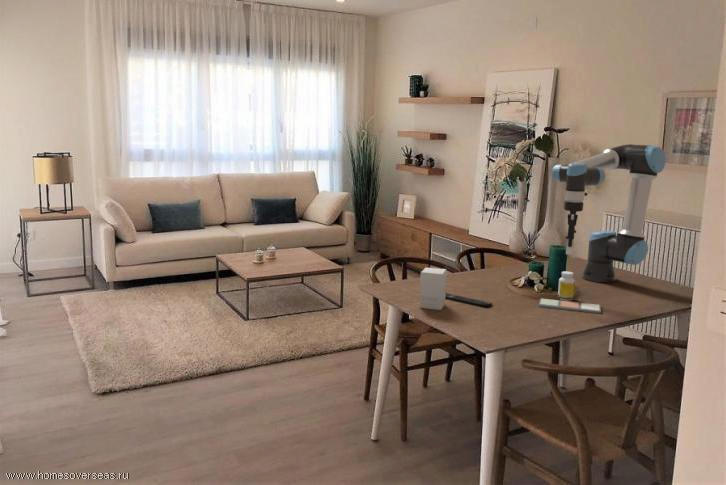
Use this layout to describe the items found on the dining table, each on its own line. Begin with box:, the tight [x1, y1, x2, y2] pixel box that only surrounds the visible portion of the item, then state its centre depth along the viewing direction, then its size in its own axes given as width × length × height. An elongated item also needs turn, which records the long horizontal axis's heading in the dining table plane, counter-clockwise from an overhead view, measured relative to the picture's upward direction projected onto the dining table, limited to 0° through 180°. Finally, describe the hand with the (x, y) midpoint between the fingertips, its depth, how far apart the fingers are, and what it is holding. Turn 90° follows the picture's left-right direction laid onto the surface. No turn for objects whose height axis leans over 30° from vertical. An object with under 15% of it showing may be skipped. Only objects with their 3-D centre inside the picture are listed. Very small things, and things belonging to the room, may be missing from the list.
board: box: [538, 297, 602, 315], centre depth 262 cm, size 10×24×1 cm, turn 71°
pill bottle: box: [557, 271, 576, 302], centre depth 272 cm, size 6×6×12 cm
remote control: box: [445, 293, 493, 309], centre depth 267 cm, size 5×24×1 cm, turn 52°
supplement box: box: [419, 267, 447, 311], centre depth 258 cm, size 9×9×15 cm
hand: (569, 251), depth 269 cm, fingers open, 13 cm apart
